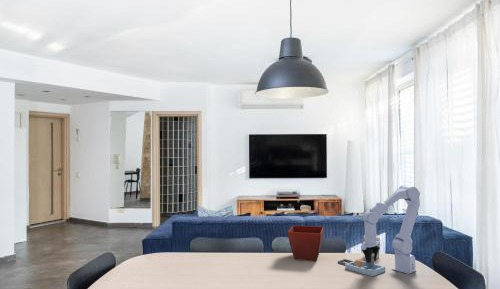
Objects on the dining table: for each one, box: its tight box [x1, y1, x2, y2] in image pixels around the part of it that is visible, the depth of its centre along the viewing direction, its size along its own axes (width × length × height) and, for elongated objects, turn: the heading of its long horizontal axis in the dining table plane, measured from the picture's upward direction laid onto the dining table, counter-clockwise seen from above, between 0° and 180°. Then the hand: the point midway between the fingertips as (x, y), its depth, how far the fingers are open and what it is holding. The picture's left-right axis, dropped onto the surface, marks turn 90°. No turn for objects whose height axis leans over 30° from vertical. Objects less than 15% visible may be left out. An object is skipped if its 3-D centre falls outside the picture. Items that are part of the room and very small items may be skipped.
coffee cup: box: [363, 234, 381, 259], centre depth 208 cm, size 9×9×12 cm
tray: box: [344, 260, 386, 277], centre depth 183 cm, size 16×12×2 cm
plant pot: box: [287, 225, 324, 262], centre depth 207 cm, size 19×19×17 cm
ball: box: [354, 258, 363, 268], centre depth 186 cm, size 4×4×4 cm
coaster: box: [337, 258, 354, 266], centre depth 195 cm, size 7×7×1 cm
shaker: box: [365, 252, 375, 267], centre depth 180 cm, size 4×4×6 cm
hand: (371, 261), depth 180 cm, fingers closed on shaker, 4 cm apart
